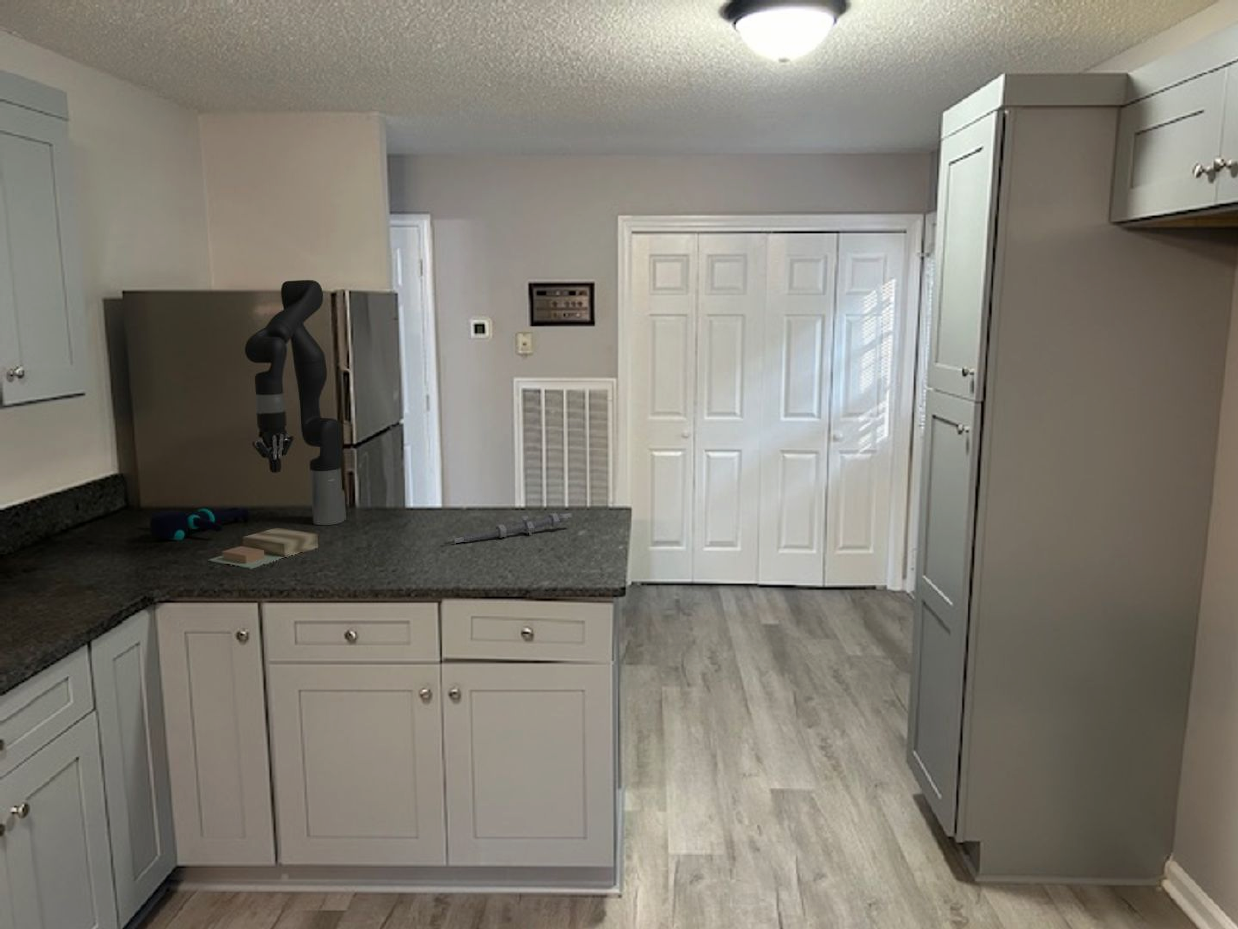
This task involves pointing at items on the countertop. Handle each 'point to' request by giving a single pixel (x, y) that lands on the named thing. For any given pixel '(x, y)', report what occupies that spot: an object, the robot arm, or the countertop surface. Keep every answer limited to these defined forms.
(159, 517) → the toy
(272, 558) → the mat
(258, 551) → the tile
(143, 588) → the countertop surface
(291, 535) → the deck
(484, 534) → the adjustable rod
